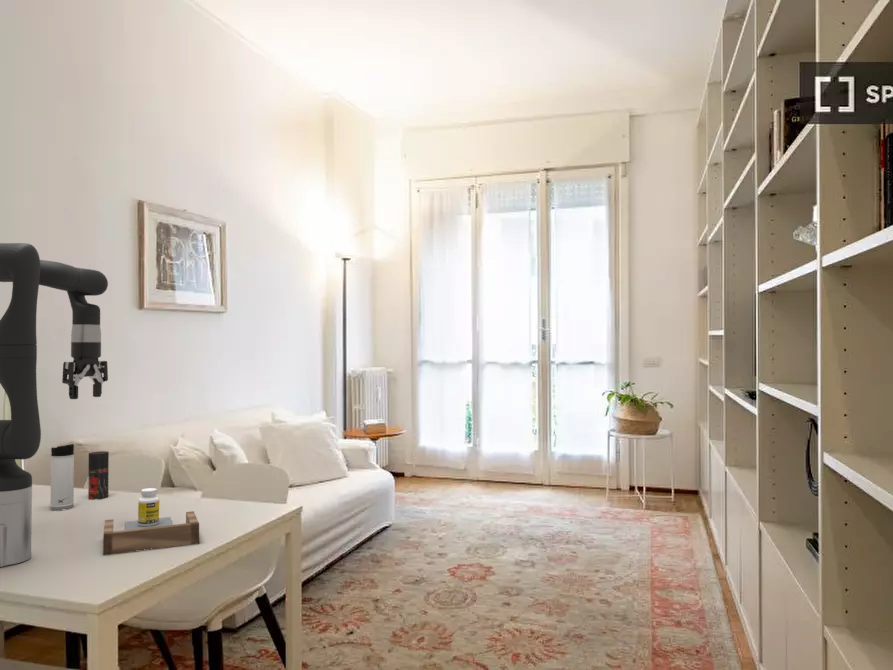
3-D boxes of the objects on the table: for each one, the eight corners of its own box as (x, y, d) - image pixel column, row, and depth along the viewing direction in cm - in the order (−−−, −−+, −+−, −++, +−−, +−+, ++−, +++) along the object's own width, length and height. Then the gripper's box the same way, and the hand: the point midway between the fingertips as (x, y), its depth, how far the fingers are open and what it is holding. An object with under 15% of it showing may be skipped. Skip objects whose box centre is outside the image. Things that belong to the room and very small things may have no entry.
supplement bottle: (145, 527, 184) (146, 492, 184) (134, 525, 187) (134, 490, 187) (163, 523, 189) (163, 488, 189) (151, 520, 192) (151, 486, 192)
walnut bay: (104, 539, 175) (104, 520, 175) (193, 529, 185) (193, 511, 185) (103, 555, 162) (103, 534, 162) (199, 543, 172) (199, 523, 172)
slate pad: (125, 523, 191) (125, 521, 191) (170, 518, 196) (170, 516, 196) (125, 534, 180) (125, 532, 180) (173, 528, 185) (173, 527, 185)
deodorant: (112, 496, 224) (112, 452, 224) (94, 500, 219) (94, 454, 219) (101, 494, 227) (102, 450, 227) (84, 498, 222) (84, 453, 222)
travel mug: (64, 511, 205) (64, 446, 205) (45, 510, 206) (46, 445, 206) (79, 506, 211) (79, 443, 211) (61, 505, 212) (61, 442, 212)
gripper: (77, 340, 181) (77, 400, 181) (115, 341, 195) (115, 396, 195) (54, 340, 183) (54, 399, 183) (94, 341, 197) (93, 395, 197)
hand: (85, 398), depth 189 cm, fingers open, 8 cm apart
